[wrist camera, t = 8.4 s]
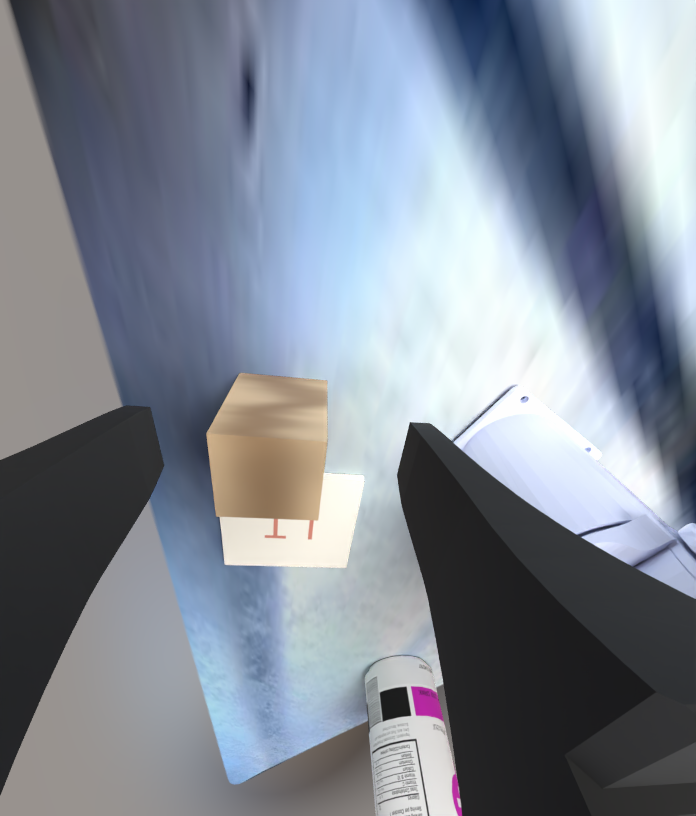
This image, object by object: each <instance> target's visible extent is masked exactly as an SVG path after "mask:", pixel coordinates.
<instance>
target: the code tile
mask: <svg viewBox="0 0 696 816" xmlns="http://www.w3.org/2000/svg"><path fill="white" fill-rule="evenodd" d="M364 482H365V481H364V475H350V474H334V473H324V475H323V484H322V492H321V501H320V509H319V518H318V521H316V520H291V519H265V518H240V517H220V523H221V533H222V543H223V552H224V562H225V565H248V566H286V567H325V568H346V567H347V562H348V557H349V553H350V548H351V543H352V538H353V534H354V529H355V524H356V520H357V515H358V510H359V505H360V501H361V496H362V491H363V486H364Z"/></svg>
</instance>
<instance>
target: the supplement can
mask: <svg viewBox="0 0 696 816" xmlns="http://www.w3.org/2000/svg"><path fill="white" fill-rule="evenodd" d="M365 689H366V701H367V714H368V726H369V738H370V751H371V763H372V775H373V787H374V798H375V799H374V800H375V812H376V816H462V810H461V801H460V794H459V786H458V781H457V777H456V772H455V768H454V764H453V759H452V755H451V752H450V746H449V742H448V738H447V734H446V729H445V725H444V721H443V716H442V712H441V708H440V703H439V699H438V695H437V690H436V686H435V681H434V677H433V673H432V669H431V667H430V666H428V665H427V664H425V661H423V660H422V659H420V658H417V657H414V656H403V655H402V656H393V657H389V658H385V659H382V660H380V661H378V662H376V663H374V664H373V665H372V666H371V667H370V670H369V672H368V673H367V674H366V676H365Z"/></svg>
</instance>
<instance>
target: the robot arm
mask: <svg viewBox="0 0 696 816" xmlns="http://www.w3.org/2000/svg"><path fill="white" fill-rule="evenodd" d="M523 396H525V398H524V399H522V400H520V399H521V398H522V397H523ZM601 456H602V453H601V451H600V450H598V449H597V448H596V447H595V446H594V445H592V444H591V443H590V442H589V441H588V440H586V439H585V438H584V437H583V436H582V435H580V434H579V433H578V432H577V431H576V430H574V429H573V428H572V427H571V426H569V425H568V424H567V423H566V422H565V421H563V420H562V419H561V418H560V417H559V416H557V415H556V414H555V413H554V412H553V411H551V410H550V409H549V408H548V407H547V406H545V405H544V404H543V403H542V402H541V401H539V400H538V399H537V398H536V397H534V396H533V395H532V394H531V393H530V392H528V391H527V390H526V389H525V388H524V387H522V386H515V387H513V388H512V389H511V390H509V391H508V392H507V393H506V394H505V395H504V396H503V397H502V398H501V399H500V400H499V401H498V402H496V403H495V404H494V405H493V406H492V407H491V408H490V409H489V410H488V411H487V412H486V413H485V414H484V415H482V416H481V417H480V418H479V419H478V420H477V421H476V422H475V423H474V424H473V425H472V426H471V427H469V428H468V429H467V430H466V431H465V432H464V433H463V434H462V435H461V436H460V437H459V438H458V439H456V440H455V441H454V442H452V441H451V440H450V439H448V438H447V437H446V436H445V435H444V434H443V433H442V432H440V431H439V430H438V429H437V428H435V427H434V426H433V425H432V424H429V423H412V422H410V425H409V429H408V433H407V437H406V441H405V445H404V449H403V453H402V457H401V461H400V465H399V469H398V473H397V478H398V485H399V492H400V498H401V504H402V508H403V512H404V515H405V519H406V522H407V526H408V529H409V533H410V536H411V539H412V543H413V546H414V550H415V553H416V556H417V560H418V563H419V566H420V570H421V573H422V577H423V580H424V584H425V588H426V592H427V596H428V601H429V606H430V611H431V616H432V622H433V627H434V632H435V637H436V643H437V648H438V654H439V660H440V666H441V671H442V677H443V683H444V689H445V696H446V702H447V709H448V715H449V722H450V727H451V734H452V742H453V749H454V756H455V764H456V771H457V779H458V786H459V794H460V801H461V810H462V816H696V524H694V523H690V524H687V525H686V526H684V527H683V528H681V529H680V530H679V531H676V530H675V529H673V528H672V527H670V526H668V525H667V524H666V523H665V522H664V521H663V520H662V519H661V518H659V517H658V516H657V515H656V514H655V513H654V512H653V511H652V510H651V509H650V508H648V507H647V506H646V505H645V504H644V503H643V502H642V501H641V500H640V499H639V498H637V497H636V496H635V495H634V494H633V493H632V492H631V491H630V490H629V489H628V488H626V487H625V486H624V485H623V484H622V483H621V482H620V481H619V480H618V479H617V478H615V477H614V476H613V475H612V474H611V473H610V472H609V471H608V470H607V469H606V468H604V467H603V466H602V465H601V464H600V463H599V462H598V461H597V460H598V459H600V457H601ZM163 467H164V463H163V458H162V454H161V450H160V446H159V442H158V438H157V433H156V429H155V425H154V421H153V417H152V413H151V408H150V407H142V406H124V407H121V408H118V409H115V410H113V411H110V412H108V413H105V414H103V415H101V416H99V417H97V418H94V419H92V420H90V421H87V422H85V423H83V424H81V425H79V426H77V427H74V428H72V429H70V430H68V431H66V432H63V433H61V434H59V435H57V436H55V437H52V438H50V439H48V440H46V441H44V442H42V443H39V444H37V445H35V446H33V447H30V448H28V449H26V450H23V451H21V452H19V453H16V454H14V455H12V456H9V457H7V458H5V459H2V460H0V795H1V792H2V790H3V787H4V785H5V782H6V780H7V777H8V775H9V772H10V770H11V767H12V764H13V762H14V760H15V757H16V755H17V753H18V750H19V748H20V746H21V743H22V741H23V739H24V736H25V734H26V732H27V729H28V727H29V725H30V722H31V720H32V718H33V715H34V713H35V711H36V709H37V706H38V704H39V702H40V699H41V697H42V695H43V693H44V690H45V688H46V686H47V684H48V682H49V680H50V678H51V675H52V673H53V671H54V669H55V667H56V665H57V663H58V660H59V658H60V656H61V654H62V652H63V650H64V648H65V645H66V643H67V641H68V639H69V637H70V635H71V633H72V631H73V629H74V627H75V625H76V623H77V621H78V619H79V617H80V615H81V613H82V611H83V609H84V607H85V605H86V602H87V601H88V599H89V597H90V595H91V593H92V592H93V590H94V588H95V587H96V585H97V583H98V581H99V580H100V578H101V576H102V575H103V573H104V571H105V570H106V568H107V567H108V565H109V563H110V562H111V560H112V558H113V557H114V555H115V554H116V552H117V550H118V549H119V547H120V546H121V544H122V543H123V541H124V539H125V538H126V536H127V534H128V533H129V531H130V530H131V528H132V526H133V525H134V523H135V522H136V520H137V518H138V517H139V515H140V514H141V512H142V510H143V508H144V507H145V505H146V504H147V502H148V500H149V499H150V497H151V494H152V492H153V490H154V488H155V486H156V484H157V481H158V479H159V477H160V474H161V472H162V469H163Z"/></svg>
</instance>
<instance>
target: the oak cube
mask: <svg viewBox="0 0 696 816" xmlns="http://www.w3.org/2000/svg"><path fill="white" fill-rule="evenodd" d="M206 435H207V444H208V452H209V460H210V469H211V477H212V486H213V494H214V503H215V511H216V517H240V518H265V519H291V520H316V521H318V518H319V509H320V501H321V492H322V484H323V475H324V467H325V458H326V450H327V381H326V380H315V379H304V378H292V377H281V376H270V375H259V374H248V373H239V375H238V377H237V379H236V381H235V382H234V384H233V386H232V388H231V390H230V391H229V393H228V395H227V397H226V399H225V401H224V402H223V404H222V406H221V408H220V410H219V411H218V413H217V415H216V417H215V419H214V421H213V422H212V424H211V426H210V428H209V430H208V431H207V433H206Z"/></svg>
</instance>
